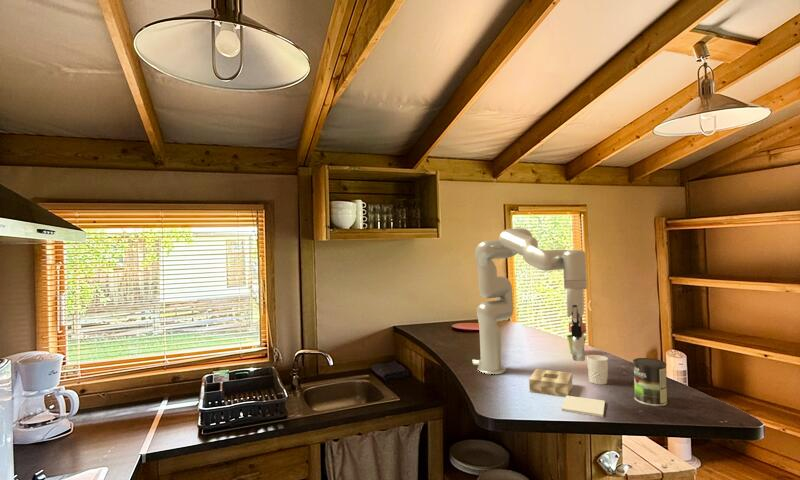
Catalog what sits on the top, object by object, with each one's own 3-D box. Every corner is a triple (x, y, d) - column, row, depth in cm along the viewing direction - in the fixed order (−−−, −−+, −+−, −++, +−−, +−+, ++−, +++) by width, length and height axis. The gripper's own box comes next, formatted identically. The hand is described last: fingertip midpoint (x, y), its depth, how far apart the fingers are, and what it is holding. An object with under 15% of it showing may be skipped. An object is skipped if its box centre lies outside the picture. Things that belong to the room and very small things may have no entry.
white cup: (611, 385, 166) (610, 360, 166) (590, 384, 168) (589, 360, 168) (605, 379, 174) (604, 355, 174) (585, 378, 176) (584, 354, 176)
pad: (561, 410, 144) (561, 408, 144) (566, 397, 156) (566, 395, 156) (603, 417, 138) (603, 414, 138) (604, 402, 150) (604, 400, 150)
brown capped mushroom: (569, 360, 148) (567, 324, 148) (571, 356, 153) (569, 321, 153) (586, 362, 145) (585, 325, 145) (588, 358, 150) (586, 322, 150)
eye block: (529, 391, 163) (529, 379, 163) (536, 380, 175) (536, 368, 175) (567, 397, 156) (567, 383, 156) (572, 385, 168) (571, 372, 168)
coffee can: (646, 407, 145) (645, 366, 145) (628, 396, 155) (626, 358, 155) (674, 405, 145) (673, 365, 145) (654, 394, 156) (652, 356, 156)
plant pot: (567, 355, 210) (566, 338, 210) (567, 350, 219) (566, 334, 219) (587, 356, 207) (586, 339, 207) (586, 351, 215) (586, 334, 215)
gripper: (567, 282, 158) (569, 329, 158) (561, 287, 143) (563, 339, 143) (588, 282, 155) (590, 330, 155) (584, 287, 140) (587, 341, 140)
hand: (577, 334), depth 149 cm, fingers closed on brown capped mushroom, 5 cm apart
